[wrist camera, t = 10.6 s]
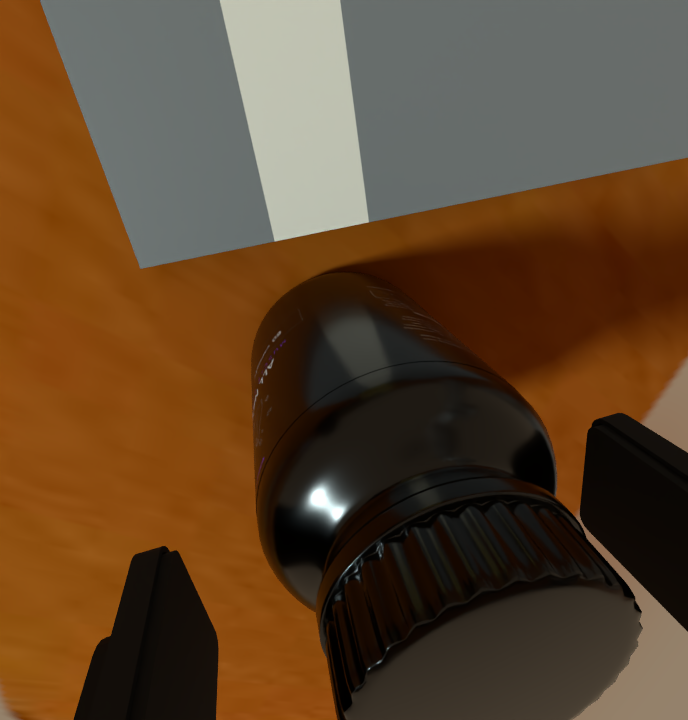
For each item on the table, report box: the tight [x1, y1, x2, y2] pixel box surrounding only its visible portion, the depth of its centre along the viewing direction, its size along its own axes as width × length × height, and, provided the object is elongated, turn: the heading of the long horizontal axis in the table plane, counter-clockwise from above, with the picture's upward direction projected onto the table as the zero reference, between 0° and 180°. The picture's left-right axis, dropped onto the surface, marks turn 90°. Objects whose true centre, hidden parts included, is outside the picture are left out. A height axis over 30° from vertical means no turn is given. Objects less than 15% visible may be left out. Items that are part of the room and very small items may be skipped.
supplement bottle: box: [251, 272, 643, 720], centre depth 12 cm, size 7×7×12 cm
